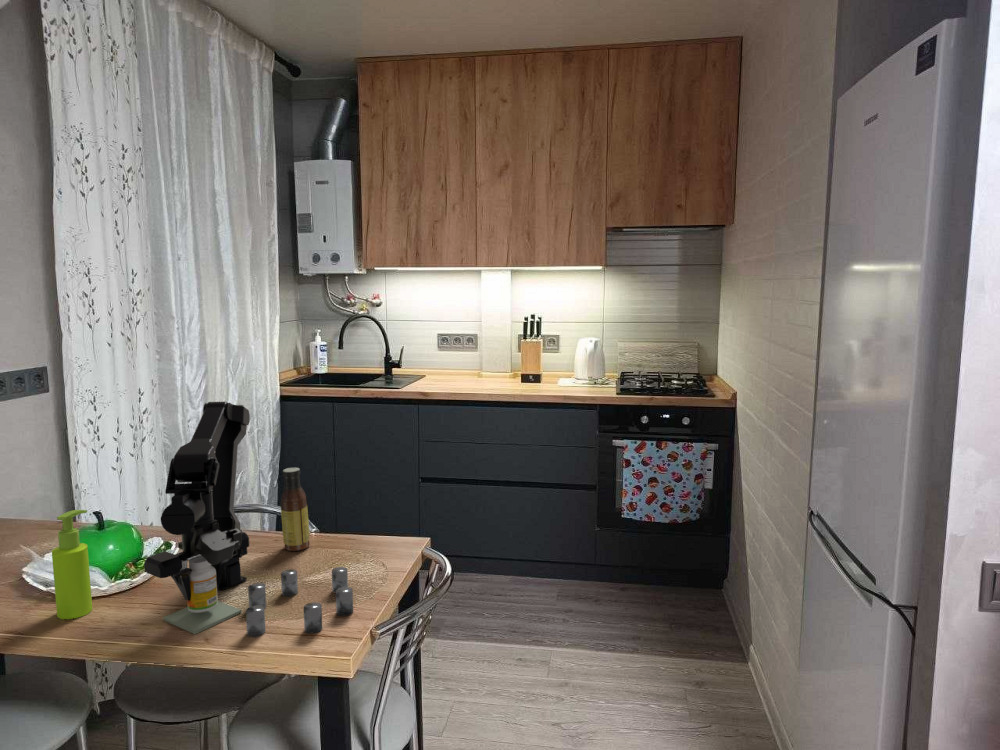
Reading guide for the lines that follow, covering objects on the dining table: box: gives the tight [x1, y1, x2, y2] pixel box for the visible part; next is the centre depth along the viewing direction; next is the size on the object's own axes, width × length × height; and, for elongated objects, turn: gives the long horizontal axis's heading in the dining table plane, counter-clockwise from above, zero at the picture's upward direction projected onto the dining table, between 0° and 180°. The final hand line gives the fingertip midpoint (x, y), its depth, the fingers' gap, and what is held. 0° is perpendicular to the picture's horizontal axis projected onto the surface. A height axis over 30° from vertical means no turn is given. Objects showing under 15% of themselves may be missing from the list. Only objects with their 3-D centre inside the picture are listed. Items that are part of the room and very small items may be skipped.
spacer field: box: [245, 566, 354, 638], centre depth 133 cm, size 19×24×4 cm
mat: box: [162, 600, 242, 635], centre depth 131 cm, size 10×10×1 cm
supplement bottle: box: [186, 556, 219, 613], centre depth 130 cm, size 5×5×10 cm
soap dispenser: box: [51, 509, 93, 620], centre depth 132 cm, size 6×7×20 cm
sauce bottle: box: [280, 467, 311, 552], centre depth 165 cm, size 7×6×20 cm
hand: (201, 594), depth 131 cm, fingers closed on supplement bottle, 5 cm apart
